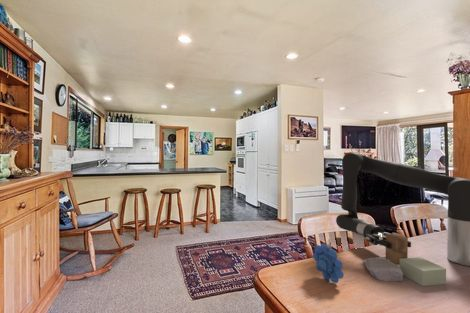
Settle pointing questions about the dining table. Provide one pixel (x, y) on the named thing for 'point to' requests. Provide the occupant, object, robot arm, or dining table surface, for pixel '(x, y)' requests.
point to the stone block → (384, 269)
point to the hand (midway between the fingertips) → (400, 245)
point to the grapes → (328, 263)
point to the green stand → (423, 271)
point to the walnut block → (397, 248)
